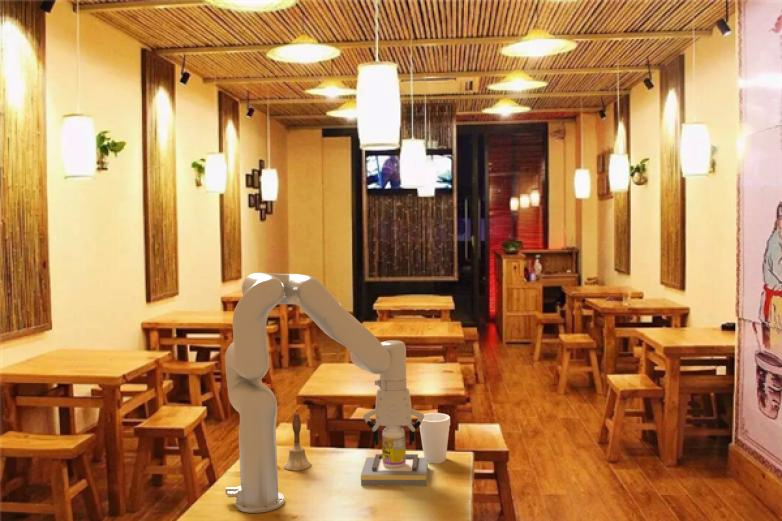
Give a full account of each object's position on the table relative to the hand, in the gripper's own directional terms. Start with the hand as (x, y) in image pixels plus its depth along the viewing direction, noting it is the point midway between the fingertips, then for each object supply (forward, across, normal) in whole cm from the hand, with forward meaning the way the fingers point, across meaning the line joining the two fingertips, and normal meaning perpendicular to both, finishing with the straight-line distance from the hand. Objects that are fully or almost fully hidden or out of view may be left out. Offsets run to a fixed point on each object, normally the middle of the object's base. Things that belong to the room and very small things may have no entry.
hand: (394, 443), depth 206 cm
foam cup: (+9, +11, +13) cm, 20 cm away
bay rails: (+6, 0, +1) cm, 6 cm away
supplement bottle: (+6, 0, 0) cm, 6 cm away
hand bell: (+10, -30, +7) cm, 32 cm away
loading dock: (+9, 0, -1) cm, 9 cm away
